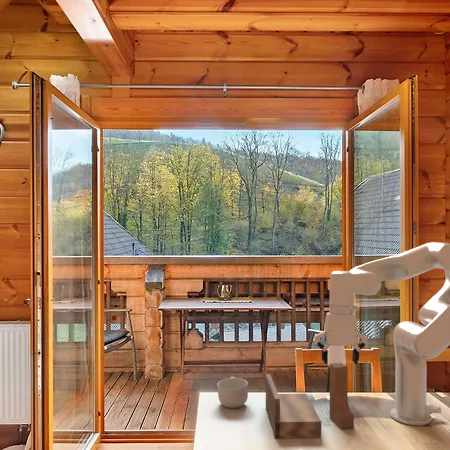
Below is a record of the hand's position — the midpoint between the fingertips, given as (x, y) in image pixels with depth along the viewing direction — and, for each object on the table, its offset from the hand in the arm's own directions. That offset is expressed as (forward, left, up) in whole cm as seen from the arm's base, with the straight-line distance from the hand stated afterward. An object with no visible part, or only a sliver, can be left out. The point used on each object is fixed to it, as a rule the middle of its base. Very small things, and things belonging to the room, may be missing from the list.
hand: (340, 362), depth 148 cm
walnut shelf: (+15, -1, -20) cm, 25 cm away
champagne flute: (-5, -20, -20) cm, 28 cm away
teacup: (+33, -17, -20) cm, 42 cm away
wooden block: (-1, 0, -20) cm, 20 cm away
